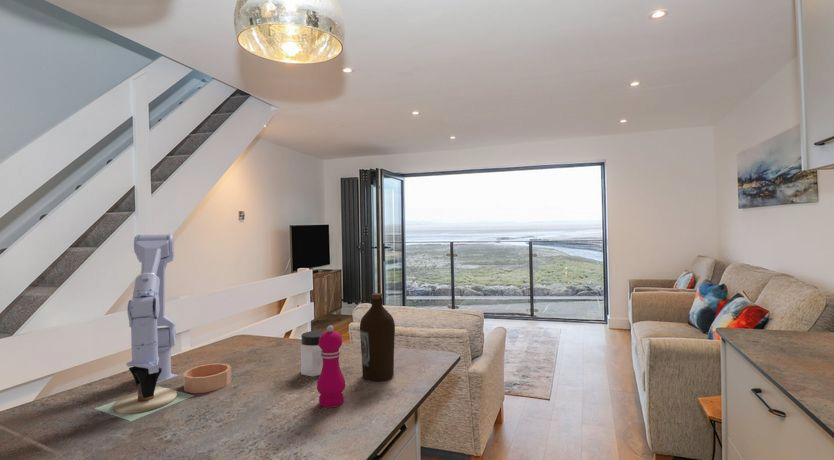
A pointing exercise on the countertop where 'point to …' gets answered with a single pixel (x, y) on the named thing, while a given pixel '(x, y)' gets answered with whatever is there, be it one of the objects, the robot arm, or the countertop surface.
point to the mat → (131, 417)
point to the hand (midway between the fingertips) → (145, 394)
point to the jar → (311, 354)
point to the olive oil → (377, 341)
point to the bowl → (207, 378)
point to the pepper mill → (330, 370)
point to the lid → (144, 401)
